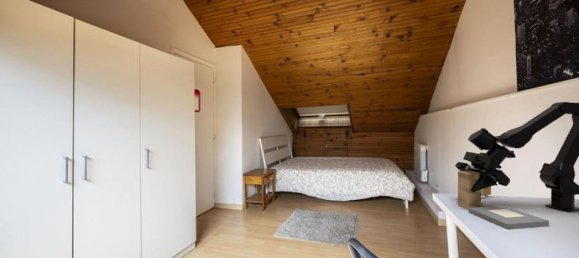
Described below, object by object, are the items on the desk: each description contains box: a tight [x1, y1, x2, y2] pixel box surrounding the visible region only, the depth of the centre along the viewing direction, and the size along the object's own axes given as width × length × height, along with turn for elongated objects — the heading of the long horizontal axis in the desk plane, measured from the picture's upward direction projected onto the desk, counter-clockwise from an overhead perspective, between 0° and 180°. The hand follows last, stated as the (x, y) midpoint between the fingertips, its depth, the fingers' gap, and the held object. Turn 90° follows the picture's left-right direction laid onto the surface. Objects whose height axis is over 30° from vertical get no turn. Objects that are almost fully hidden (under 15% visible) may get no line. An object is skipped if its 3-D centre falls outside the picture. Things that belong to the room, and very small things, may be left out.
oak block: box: [457, 170, 482, 211], centre depth 92 cm, size 5×5×13 cm
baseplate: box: [468, 205, 550, 230], centre depth 81 cm, size 14×14×2 cm
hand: (465, 189), depth 92 cm, fingers closed on oak block, 5 cm apart
